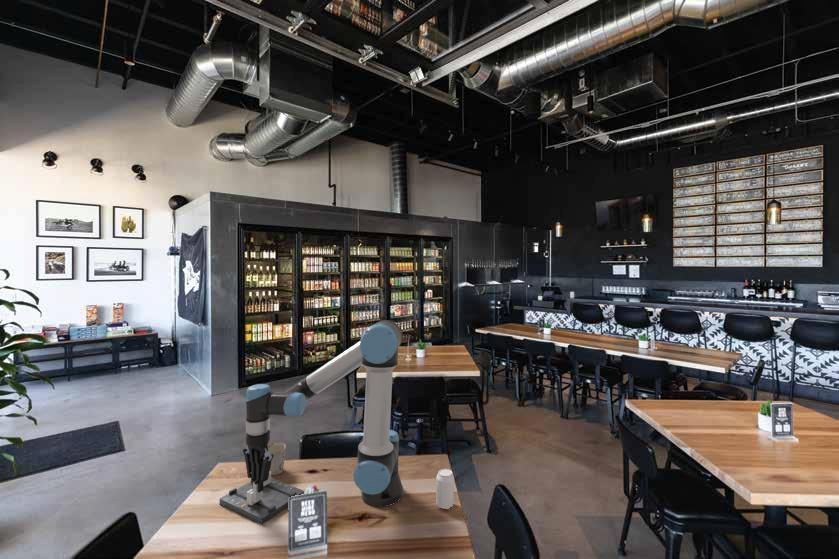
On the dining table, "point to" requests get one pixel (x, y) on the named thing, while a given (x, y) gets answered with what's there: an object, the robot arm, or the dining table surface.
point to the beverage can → (444, 488)
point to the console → (266, 507)
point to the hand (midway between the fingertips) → (257, 499)
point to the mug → (277, 457)
